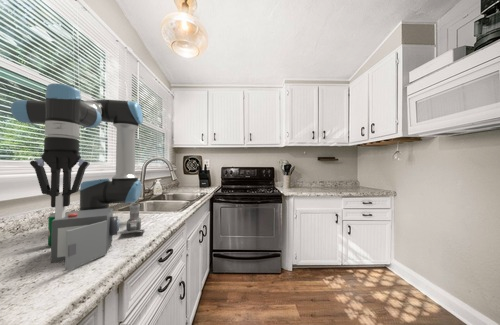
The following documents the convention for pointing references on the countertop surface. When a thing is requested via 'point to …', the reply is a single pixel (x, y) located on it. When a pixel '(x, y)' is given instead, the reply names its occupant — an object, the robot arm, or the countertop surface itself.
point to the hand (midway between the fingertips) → (60, 217)
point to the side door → (85, 244)
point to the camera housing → (75, 221)
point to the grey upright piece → (133, 220)
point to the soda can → (50, 227)
